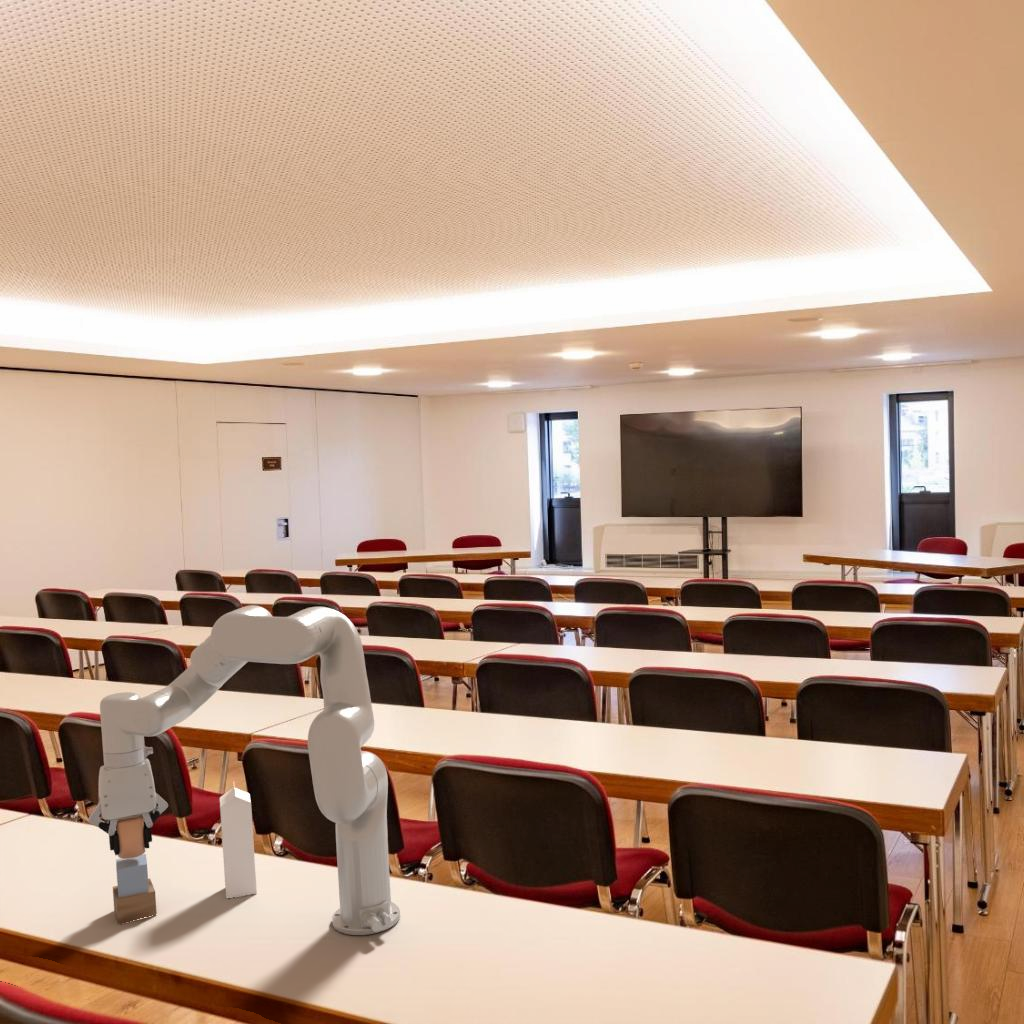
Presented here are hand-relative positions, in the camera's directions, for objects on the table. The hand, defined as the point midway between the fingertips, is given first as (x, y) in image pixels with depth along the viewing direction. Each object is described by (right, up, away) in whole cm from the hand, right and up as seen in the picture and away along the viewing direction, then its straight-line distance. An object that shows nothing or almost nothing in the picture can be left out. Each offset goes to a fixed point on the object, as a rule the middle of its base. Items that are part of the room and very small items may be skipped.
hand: (131, 848), depth 194 cm
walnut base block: (+1, -13, +1) cm, 13 cm away
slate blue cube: (0, -8, 0) cm, 8 cm away
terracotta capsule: (0, -1, 0) cm, 1 cm away
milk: (+19, -12, +9) cm, 24 cm away
